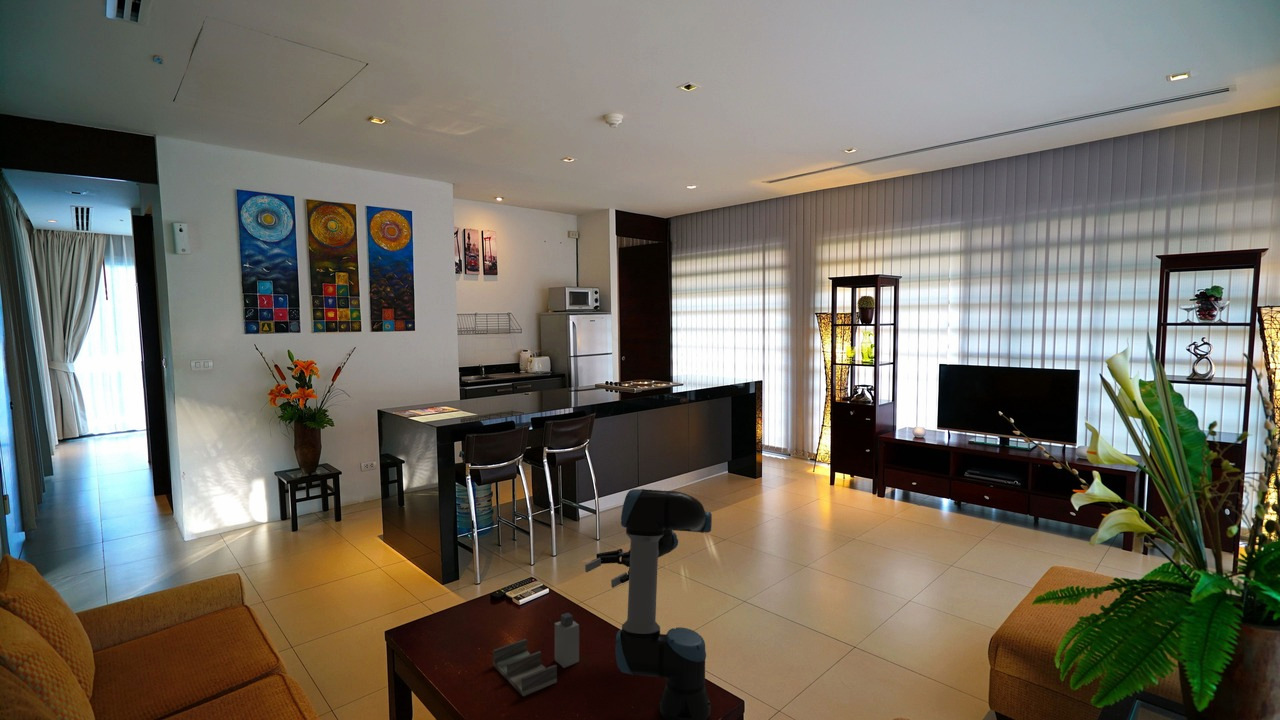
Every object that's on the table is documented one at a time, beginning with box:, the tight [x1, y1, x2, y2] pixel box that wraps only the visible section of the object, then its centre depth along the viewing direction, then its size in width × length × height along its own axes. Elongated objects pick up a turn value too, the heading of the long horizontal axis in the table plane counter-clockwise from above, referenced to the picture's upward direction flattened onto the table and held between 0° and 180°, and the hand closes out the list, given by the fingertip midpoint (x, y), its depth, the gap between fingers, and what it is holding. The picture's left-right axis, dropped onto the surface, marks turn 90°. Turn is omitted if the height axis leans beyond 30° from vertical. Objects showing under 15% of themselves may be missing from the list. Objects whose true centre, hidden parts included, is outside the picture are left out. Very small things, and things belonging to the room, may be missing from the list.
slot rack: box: [492, 638, 558, 697], centre depth 199 cm, size 21×12×6 cm, turn 39°
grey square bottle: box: [554, 612, 580, 669], centre depth 206 cm, size 6×6×16 cm
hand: (598, 576), depth 205 cm, fingers open, 13 cm apart
